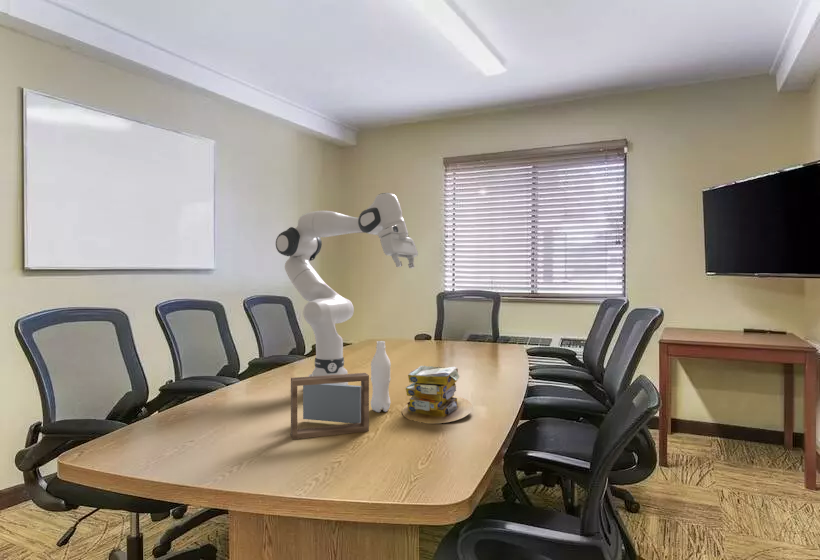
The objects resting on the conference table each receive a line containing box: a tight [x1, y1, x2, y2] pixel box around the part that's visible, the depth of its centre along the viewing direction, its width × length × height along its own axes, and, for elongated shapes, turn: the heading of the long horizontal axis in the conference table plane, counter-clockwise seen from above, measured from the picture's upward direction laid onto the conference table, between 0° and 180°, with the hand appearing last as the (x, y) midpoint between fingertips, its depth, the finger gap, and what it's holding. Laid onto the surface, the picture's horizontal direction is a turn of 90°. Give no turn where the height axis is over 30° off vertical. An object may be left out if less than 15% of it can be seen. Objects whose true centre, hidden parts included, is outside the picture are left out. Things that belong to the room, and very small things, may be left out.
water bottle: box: [370, 340, 391, 413], centre depth 181 cm, size 7×7×25 cm
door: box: [302, 384, 361, 424], centre depth 166 cm, size 2×20×12 cm, turn 75°
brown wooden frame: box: [290, 372, 370, 440], centre depth 156 cm, size 4×24×18 cm, turn 110°
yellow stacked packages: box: [401, 365, 474, 425], centre depth 178 cm, size 25×25×17 cm
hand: (405, 267), depth 188 cm, fingers open, 8 cm apart
